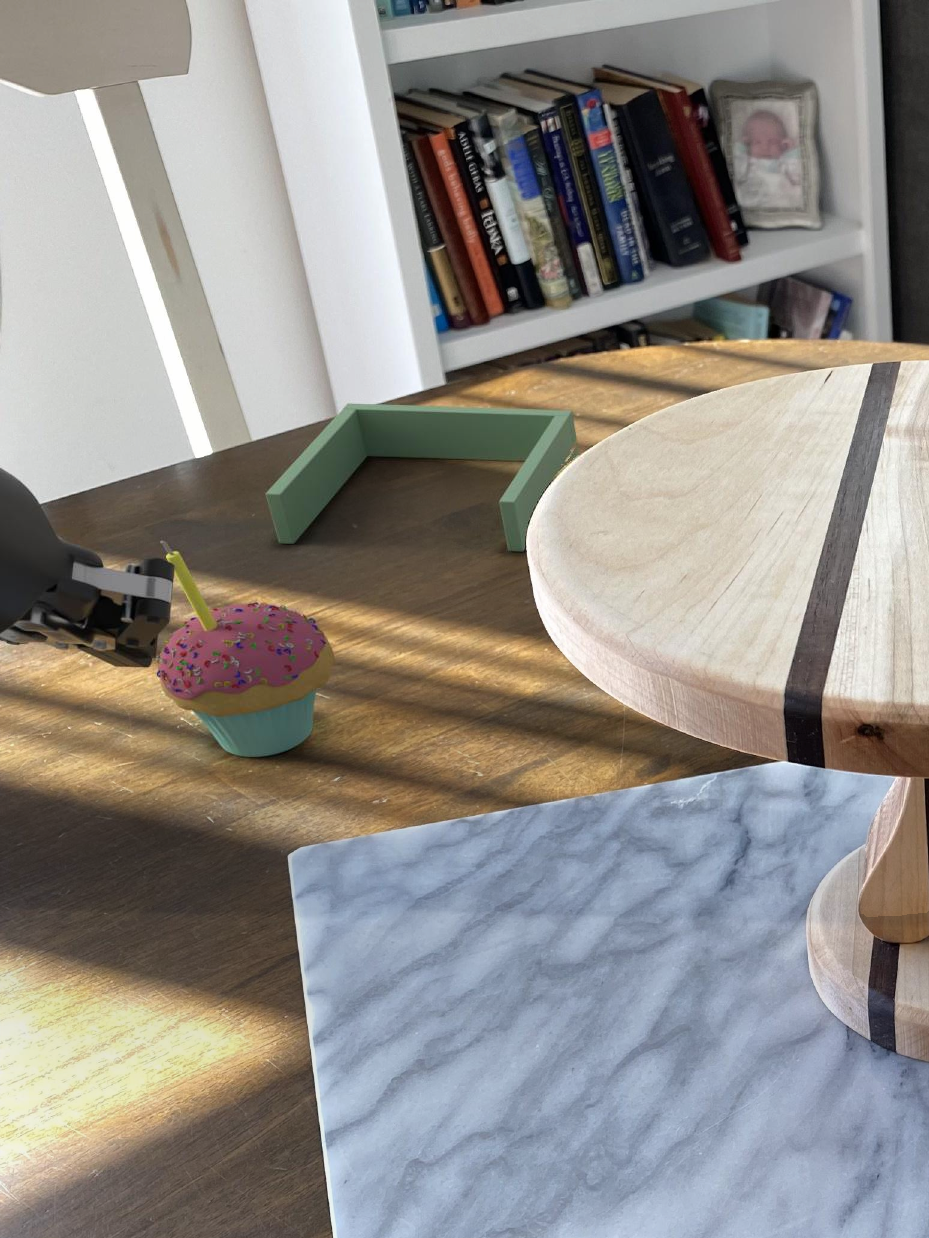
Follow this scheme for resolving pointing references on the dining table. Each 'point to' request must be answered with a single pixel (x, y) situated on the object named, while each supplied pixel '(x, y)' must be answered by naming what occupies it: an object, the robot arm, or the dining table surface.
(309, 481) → the corral
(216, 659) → the cupcake
